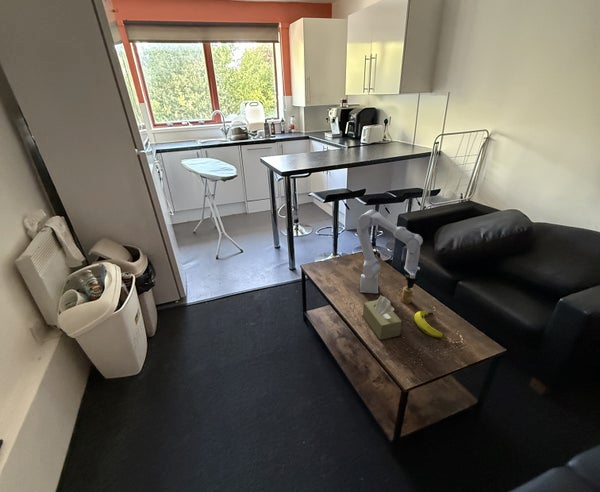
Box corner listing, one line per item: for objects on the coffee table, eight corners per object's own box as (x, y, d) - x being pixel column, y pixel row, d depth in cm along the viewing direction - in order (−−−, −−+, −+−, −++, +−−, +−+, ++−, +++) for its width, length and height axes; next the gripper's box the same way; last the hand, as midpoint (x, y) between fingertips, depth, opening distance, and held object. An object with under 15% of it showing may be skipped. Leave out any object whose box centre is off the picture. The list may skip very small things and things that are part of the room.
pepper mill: (401, 303, 163) (404, 289, 159) (401, 298, 167) (403, 284, 162) (411, 303, 162) (413, 289, 158) (410, 298, 166) (412, 284, 162)
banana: (436, 334, 135) (459, 327, 142) (407, 311, 148) (429, 306, 155) (433, 343, 137) (455, 335, 144) (404, 319, 150) (426, 313, 157)
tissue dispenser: (400, 336, 141) (405, 307, 133) (380, 340, 139) (383, 311, 131) (380, 311, 157) (383, 284, 149) (362, 315, 155) (364, 288, 147)
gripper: (423, 267, 146) (419, 291, 152) (418, 253, 158) (415, 276, 165) (407, 266, 147) (404, 291, 154) (404, 252, 159) (401, 276, 166)
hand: (409, 283), depth 159 cm, fingers open, 7 cm apart
